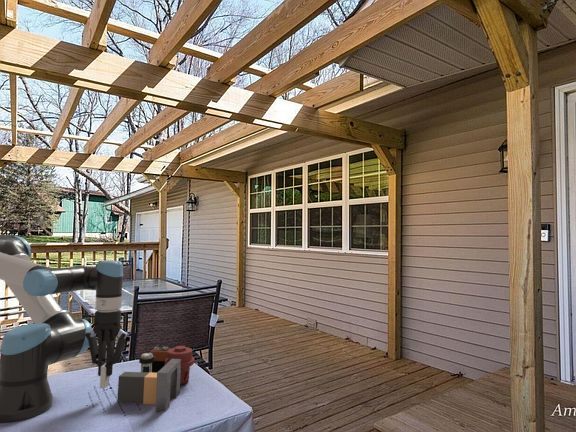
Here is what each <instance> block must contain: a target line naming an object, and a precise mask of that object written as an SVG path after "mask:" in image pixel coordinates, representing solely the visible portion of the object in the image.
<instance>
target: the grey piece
mask: <svg viewBox="0 0 576 432" xmlns="http://www.w3.org/2000/svg"><path fill="white" fill-rule="evenodd" d="M180 372H181V359H171V360H170V361H169V362H168V363H167V364H166V365H165V366H164V367H163V368H162V369H161V370H160V371H158V372H157V385H156V404H155V408H154V409H155V412H163V413H165V412H167V411H168V409H169V408H170V405H171V399H176V398H177V397H178V396H179V395H180V394H181V391H180V390H181V389H180V387H181V385H180Z"/></svg>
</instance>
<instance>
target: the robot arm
mask: <svg viewBox="0 0 576 432" xmlns="http://www.w3.org/2000/svg"><path fill="white" fill-rule="evenodd" d="M31 250H32V248H31V245H30V243H29V242H28V241H27V239H25V238H23V237H21V236H18V235H12V234H10V235H9V234H5V235H0V280H1V281H4V283H5V285H7V287H8V288H9V289H10V291H11V293H12V294H13V295H14V297H15V298H16V299H17V301H18V302H19V304H20V305H21V306H22V308H23V309H24V311H25V312H26V313H27V315H28V317H29V318H30V319H31V321H32V322H33V323H31V324H25V325H21V326H18V327H14V328H12V329H10V330H8V331H7V332H6V333H5V334H4V335H3V337H2V340H1V344H0V423H9V422H18V421H22V420H26V419H30V418H33V417H35V416H38V415H41V414H43V413H44V412H46V411H48V410H49V409H50V408H51V407H52V406H53V401H54V397H53V393H52V390H51V386H50V384H49V380H48V372H49V366H50V365H54V364H56V363H59V362H63V361H65V360H68V359H71V358H72V359H73V358H75V357H77V356H79V355H81V354H83V353H84V352H86V351H87V350H88V349H89V353H90V357H91V363H92V365H97V366H98V368H97V376H98V377H99V378H100V379H99V380H100V381H99V382H100V383H99V389H106V388H107V387H108V386H110V377H111V376H112V374H113V367H114V365H115V364H117V363H119V362H120V359H121V355H122V351H123V347H124V344H125V342H126V339H127V337H128V336H129V332H128V331H124V330H123V329H122V325H121V321H122V318H121V317H122V310H121V308H122V306H123V305H122V300H123V298H122V296H123V280H124V265H123V262H122V261H120V260H102V261H101V260H100V261H98V262H97V266H88V265H87V266H86V265H72V266H70V267H55V268H54V267H49V266H45V265H43V264H40V263H37V262H33V261H31V258H32V251H31ZM82 290H84V291H86V290H87V291H95V308H94V309H95V310H96V311H95V312H94V319H93V320H94V321H93V322H94V325H93V328H92V325H91V323H90V322H89V321H88V320H86V319H85V318H76V317H75V316H74V315H73V313H72V312H71V311H70V310H63V308H62V307H61V305H60V304H59V303H58V301H57V300H56V299H55V298H54V296H53V295H56V294H61V293H62V294H63V293H69V292H71V293H72V292H76V291H82ZM116 337H117V338H118V339H117V342H116ZM115 342H116V346H115Z"/></svg>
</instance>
